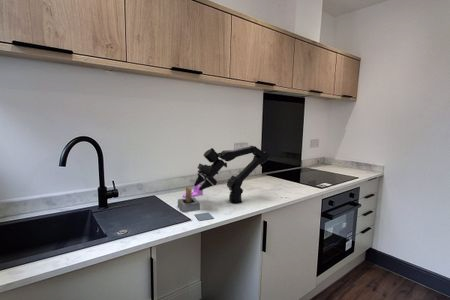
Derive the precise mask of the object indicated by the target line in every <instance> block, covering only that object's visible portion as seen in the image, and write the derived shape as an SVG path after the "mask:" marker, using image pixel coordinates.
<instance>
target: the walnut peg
mask: <svg viewBox="0 0 450 300" xmlns="http://www.w3.org/2000/svg"><path fill="white" fill-rule="evenodd" d="M192 191H193V190H192V186H186V187H185V194H186V203H191V199H192V198H193V197H192Z"/></svg>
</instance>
